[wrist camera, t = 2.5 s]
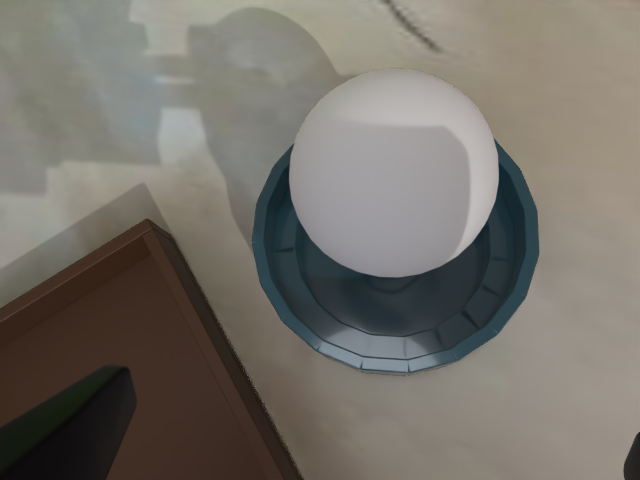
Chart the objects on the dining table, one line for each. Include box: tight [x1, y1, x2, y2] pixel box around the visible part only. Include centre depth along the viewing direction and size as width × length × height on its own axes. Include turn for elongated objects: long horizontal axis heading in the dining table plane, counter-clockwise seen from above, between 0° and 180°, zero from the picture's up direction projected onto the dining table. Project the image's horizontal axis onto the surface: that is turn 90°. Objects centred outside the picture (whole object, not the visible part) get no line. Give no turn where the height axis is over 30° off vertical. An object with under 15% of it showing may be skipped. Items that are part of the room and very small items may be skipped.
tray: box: [0, 219, 302, 480], centre depth 20 cm, size 16×13×2 cm
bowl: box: [252, 139, 539, 376], centre depth 21 cm, size 11×11×4 cm
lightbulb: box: [289, 68, 499, 277], centre depth 17 cm, size 6×6×11 cm
